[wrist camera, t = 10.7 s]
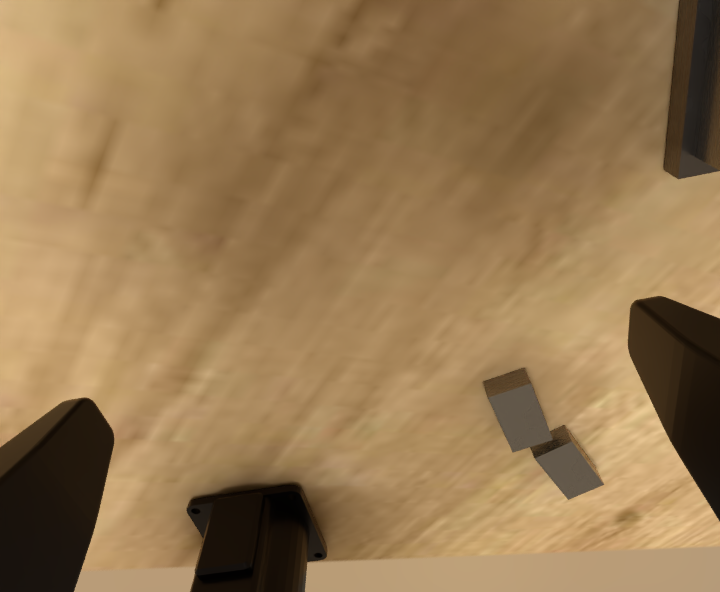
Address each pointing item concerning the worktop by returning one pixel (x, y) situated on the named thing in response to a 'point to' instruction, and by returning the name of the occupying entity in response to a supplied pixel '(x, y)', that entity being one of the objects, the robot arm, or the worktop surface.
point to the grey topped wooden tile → (517, 410)
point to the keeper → (688, 89)
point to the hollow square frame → (711, 98)
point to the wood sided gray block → (567, 464)
